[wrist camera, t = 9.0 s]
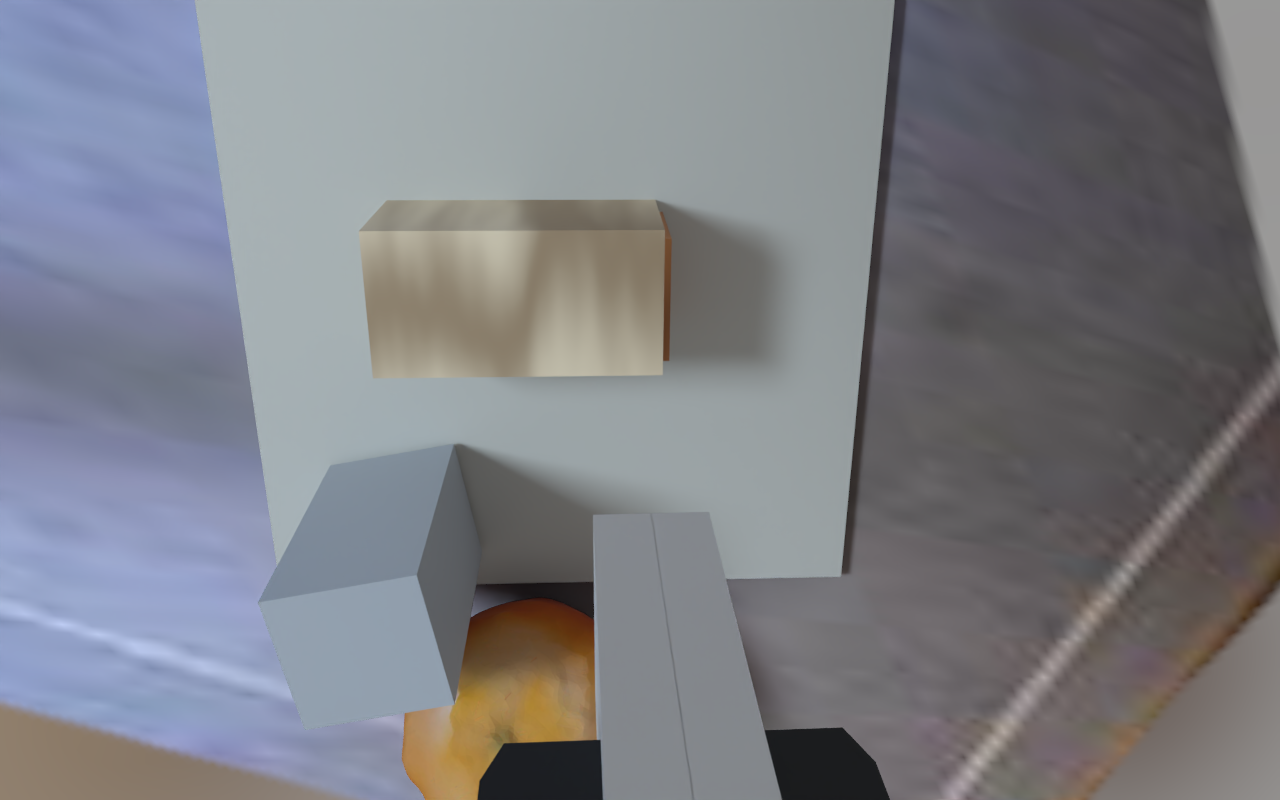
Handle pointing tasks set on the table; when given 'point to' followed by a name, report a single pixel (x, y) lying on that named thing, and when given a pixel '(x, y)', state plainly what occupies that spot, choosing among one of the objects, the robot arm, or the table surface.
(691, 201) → the felt mat
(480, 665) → the fruit
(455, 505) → the slate block
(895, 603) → the table surface
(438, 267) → the beech block
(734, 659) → the robot arm
